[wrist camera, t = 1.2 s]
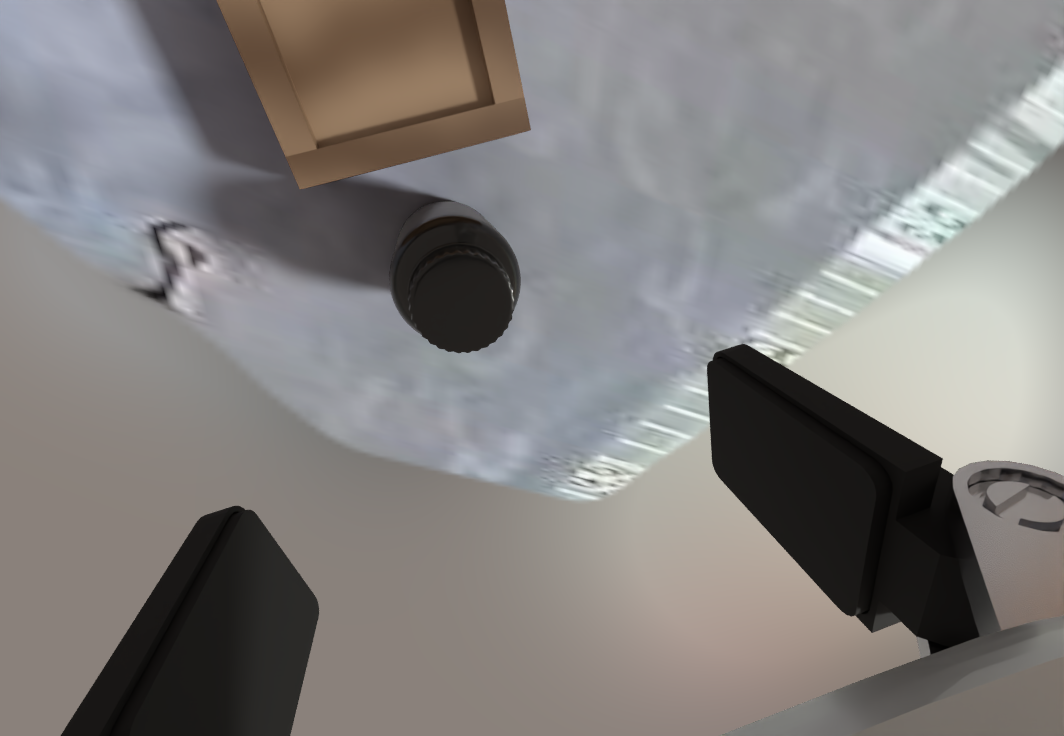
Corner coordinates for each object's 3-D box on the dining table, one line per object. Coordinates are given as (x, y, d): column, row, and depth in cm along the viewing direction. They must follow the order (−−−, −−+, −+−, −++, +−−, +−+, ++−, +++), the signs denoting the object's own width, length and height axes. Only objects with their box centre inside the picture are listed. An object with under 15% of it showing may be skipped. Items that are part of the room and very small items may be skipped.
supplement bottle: (393, 294, 31) (374, 365, 20) (402, 190, 28) (386, 208, 18) (490, 308, 33) (520, 379, 22) (507, 211, 30) (550, 240, 19)
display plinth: (216, -75, 22) (150, -148, 17) (454, -124, 23) (462, -206, 18) (324, 183, 27) (299, 189, 22) (512, 135, 28) (530, 129, 23)
